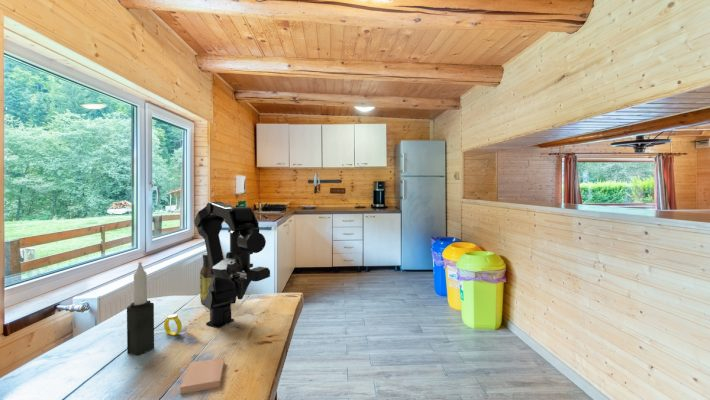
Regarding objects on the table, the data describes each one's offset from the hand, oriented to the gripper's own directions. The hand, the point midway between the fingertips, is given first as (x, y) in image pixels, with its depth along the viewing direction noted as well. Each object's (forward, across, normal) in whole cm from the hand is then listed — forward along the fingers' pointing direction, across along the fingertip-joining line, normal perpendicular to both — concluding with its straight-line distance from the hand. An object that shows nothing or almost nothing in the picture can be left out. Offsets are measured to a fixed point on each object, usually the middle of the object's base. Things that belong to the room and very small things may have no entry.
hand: (240, 299), depth 91 cm
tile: (+12, +7, -18) cm, 23 cm away
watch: (+12, -21, -7) cm, 25 cm away
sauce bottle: (+12, -34, +17) cm, 40 cm away
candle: (+12, -20, -17) cm, 29 cm away
